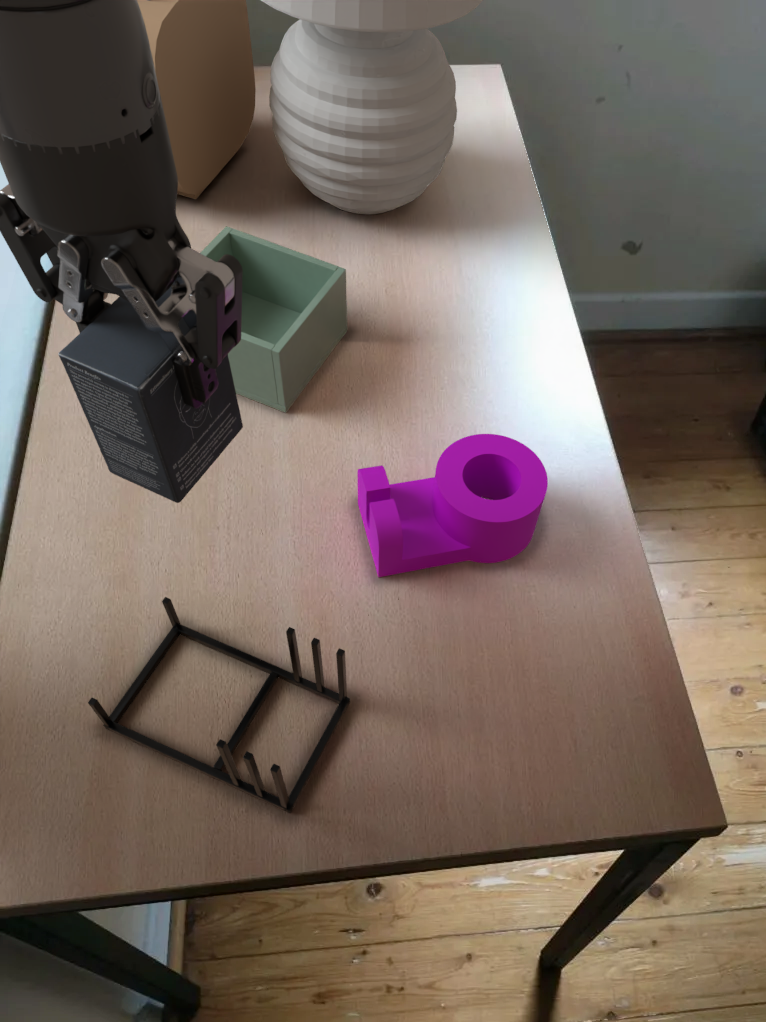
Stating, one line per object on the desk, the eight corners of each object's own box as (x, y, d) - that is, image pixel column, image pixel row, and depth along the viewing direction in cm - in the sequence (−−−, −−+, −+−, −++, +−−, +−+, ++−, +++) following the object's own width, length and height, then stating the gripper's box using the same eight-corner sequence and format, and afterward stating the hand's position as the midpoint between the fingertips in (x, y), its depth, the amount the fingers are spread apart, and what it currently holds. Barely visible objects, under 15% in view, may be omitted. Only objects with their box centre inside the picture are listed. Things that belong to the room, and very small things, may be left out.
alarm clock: (193, 115, 105) (156, -91, 87) (261, 134, 104) (238, -70, 86) (111, 201, 95) (49, -13, 76) (185, 222, 94) (141, 12, 75)
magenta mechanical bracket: (516, 471, 79) (527, 426, 74) (549, 552, 74) (563, 511, 69) (356, 497, 76) (355, 452, 70) (380, 584, 71) (381, 543, 66)
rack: (105, 728, 62) (68, 679, 54) (177, 626, 67) (153, 567, 59) (290, 814, 60) (279, 774, 52) (350, 702, 65) (348, 651, 57)
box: (176, 399, 57) (141, 271, 48) (245, 429, 56) (222, 305, 47) (106, 474, 53) (53, 350, 44) (179, 507, 52) (139, 388, 43)
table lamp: (252, 246, 93) (185, -241, 59) (269, 124, 106) (223, -334, 71) (469, 258, 95) (527, -203, 61) (460, 137, 108) (504, -299, 74)
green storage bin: (167, 366, 82) (149, 303, 75) (236, 289, 89) (226, 225, 82) (286, 413, 80) (278, 352, 73) (347, 330, 87) (346, 268, 80)
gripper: (-132, 79, 34) (17, 377, 48) (161, 187, 32) (225, 464, 46) (-9, 8, 38) (95, 305, 52) (259, 101, 36) (290, 382, 50)
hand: (156, 379), depth 49 cm, fingers closed on box, 5 cm apart
